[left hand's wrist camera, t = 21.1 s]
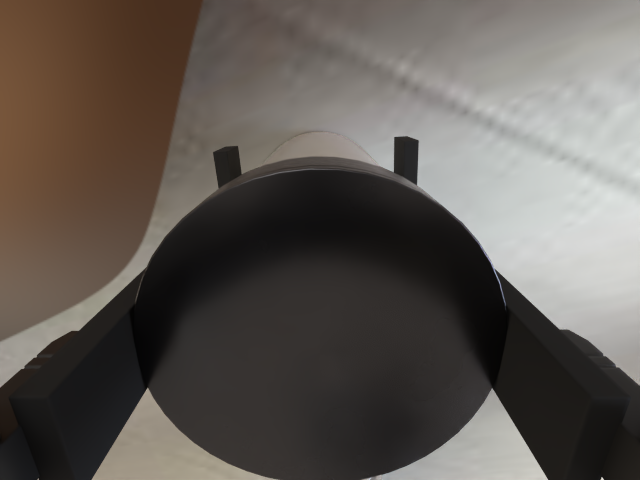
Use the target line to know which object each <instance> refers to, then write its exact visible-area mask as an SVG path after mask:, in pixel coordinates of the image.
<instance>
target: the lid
mask: <svg viewBox="0 0 640 480" xmlns="http://www.w3.org/2000/svg"><path fill="white" fill-rule="evenodd" d="M133 333H134V343H135V348H136V353H137V358H138V363H139V367H140V369H141V372H142V375H143V378H144V381H145V383H146V384H147V386H148V388H149V390H150V392H151V394H152V396H153V398H154V399H155V401H156V402H157V404H158V405H159V407H160V408H161V409H162V411H163V412H164V414H165V415H166V416H167V417H168V418H169V419H170V420H171V421H172V423H173V424H174V425H175V426H176V427H177V428H178V429H179V430H180V431H181V432H182V433H183V434H185V435H186V436H187V437H188V438H189V439H190V440H192V441H193V442H194V443H195V444H197V445H198V446H200V447H201V448H203V449H204V450H206V451H207V452H208V453H210V454H212V455H214V456H215V457H217V458H219V459H221V460H223V461H225V462H227V463H228V464H231V465H233V466H236V467H238V468H240V469H243V470H245V471H248V472H251V473H255V474H258V475H261V476H265V477H268V478H273V479H278V480H362V479H367V478H371V477H375V476H379V475H382V474H386V473H389V472H392V471H394V470H397V469H399V468H402V467H405V466H407V465H409V464H411V463H413V462H415V461H417V460H419V459H421V458H423V457H425V456H427V455H428V454H430V453H431V452H433V451H434V450H436V449H437V448H439V447H441V446H442V445H443V444H445V443H446V442H447V441H448V440H449V439H451V438H452V437H453V436H454V435H456V434H457V433H458V432H459V431H460V430H461V429H462V428H463V427H464V426H465V425H466V424H467V423H468V422H469V421H470V420H471V419H472V417H473V416H474V415H475V413H476V412H477V411H478V409H479V408H480V407H481V405H482V404H483V403H484V401H485V399H486V398H487V396H488V394H489V392H490V390H491V389H492V387H493V385H494V383H495V380H496V378H497V375H498V373H499V370H500V366H501V361H502V357H503V352H504V347H505V342H506V335H507V317H506V305H505V300H504V296H503V292H502V288H501V284H500V281H499V279H498V276H497V274H496V272H495V269H494V267H493V265H492V262H491V260H490V259H489V257H488V256H487V254H486V253H485V251H484V249H483V248H482V246H481V245H480V243H479V241H478V240H477V239H476V238H475V237H474V236H473V235H472V233H471V232H470V231H469V230H468V229H467V228H466V226H465V225H464V224H463V223H462V222H461V221H460V220H458V219H457V218H456V217H455V216H454V215H452V214H451V213H450V212H449V211H448V210H447V209H445V208H444V207H443V206H442V205H441V204H439V203H438V202H437V201H436V200H435V199H433V198H432V197H431V196H430V195H429V194H427V193H426V192H425V191H424V190H423V189H421V188H420V187H418V186H417V185H415V184H413V183H412V182H410V181H409V180H407V179H405V178H404V177H402V176H400V175H398V174H396V173H393V172H391V171H389V170H387V169H385V168H382V167H380V166H376V165H373V164H369V163H366V162H363V161H359V160H353V159H346V158H340V157H319V156H310V157H301V158H293V159H286V160H282V161H278V162H274V163H270V164H266V165H263V166H261V167H258V168H256V169H254V170H251V171H249V172H246V173H244V174H242V175H240V176H238V177H237V178H235V179H233V180H232V181H230V182H228V183H226V184H225V185H223V186H222V187H221V188H219V189H218V190H217V191H215V192H214V193H213V194H212V195H210V196H209V197H208V198H207V199H205V200H204V201H203V202H202V203H201V204H199V205H198V206H197V207H196V208H195V209H193V210H192V211H191V212H190V213H188V214H187V215H186V216H185V217H184V218H183V219H182V220H181V221H180V222H179V223H178V224H177V225H176V226H175V227H174V228H173V229H172V230H171V231H170V232H169V233H168V234H167V235H166V237H165V238H164V239H163V241H162V242H161V244H160V245H159V247H158V248H157V250H156V251H155V252H154V254H153V255H152V257H151V259H150V261H149V263H148V265H147V268H146V270H145V272H144V274H143V276H142V279H141V282H140V286H139V289H138V292H137V296H136V301H135V308H134V316H133Z"/></svg>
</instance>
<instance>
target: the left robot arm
mask: <svg viewBox="0 0 640 480" xmlns="http://www.w3.org/2000/svg"><path fill="white" fill-rule="evenodd" d="M146 268H147V267H146ZM146 268H145V269H144V270H143V271H142V272H141V273H140V274H139V275H138V276H137V277H136V278H135V279H134V280H133V281H132V282H130V283H129V284H128V285H127V286H126V287H125V288H124V289H123V290H122V291H121V292H120V293H119V294H118V295H117V296H116V297H114V298H113V299H112V300H111V301H110V302H109V303H108V304H107V305H106V306H105V307H104V308H103V309H102V310H101V311H100V312H98V313H97V314H96V315H95V316H94V317H93V318H92V319H91V320H90V321H89V322H88V323H87V324H86V325H85V326H84V327H83V328H81V329H80V330H79V331H71V332H69V333H67V334H65V335H64V336H62V337H60V338H58V339H56V340H55V341H53V342H51V343H50V344H49V345H48V346H47V347H46V348H45V349H43V350H42V351H41V352H40V353H39V354H38V355H37V358H33V359H32V360H31V361H30V362H29V363H28V364H27V365H25V368H24V369H21V370H20V371H19V372H18V373H16V374H15V375H14V376H13V377H12V378H11V379H10V380H9V381H7V382H6V383H5V384H4V385H3V386H2V387H1V388H0V480H37V479H38V478H39V480H92V478H93V476H94V475H95V473H96V471H97V470H98V468H99V466H100V465H101V463H102V461H103V460H104V458H105V457H106V455H107V453H108V452H109V450H110V448H111V447H112V445H113V443H114V442H115V440H116V438H117V437H118V435H119V434H120V432H121V430H122V429H123V427H124V425H125V424H126V422H127V420H128V419H129V417H130V415H131V414H132V412H133V411H134V409H135V407H136V406H137V404H138V402H139V401H140V399H141V397H142V396H143V394H144V392H145V391H146V389H147V388H148V386H147V384H146V383H145V381H144V378H143V375H142V372H141V369H140V367H139V363H138V358H137V353H136V348H135V343H134V333H133V316H134V308H135V301H136V296H137V292H138V289H139V286H140V282H141V279H142V276H143V274H144V272H145V270H146ZM495 272H496V274H497V276H498V279H499V281H500V284H501V288H502V292H503V296H504V300H505V305H506V317H507V335H506V342H505V347H504V352H503V357H502V361H501V366H500V370H499V373H498V375H497V378H496V380H495V383H494V385H493V387H492V388H493V390H494V391H495V393H496V395H497V396H498V398H499V399H500V401H501V403H502V404H503V406H504V408H505V409H506V411H507V413H508V414H509V416H510V418H511V419H512V421H513V422H514V424H515V426H516V427H517V429H518V431H519V432H520V434H521V436H522V437H523V439H524V441H525V442H526V444H527V445H528V447H529V449H530V450H531V452H532V454H533V455H534V457H535V459H536V460H537V462H538V464H539V465H540V467H541V468H542V470H543V472H544V473H545V475H546V477H547V478H548V480H601V477H603V479H604V480H640V386H639V385H638V384H637V383H636V382H635V381H633V380H632V379H631V378H630V377H629V376H628V375H627V374H625V373H624V372H623V371H622V370H621V369H620V368H616V366H615V364H614V363H613V362H612V361H611V360H610V359H608V358H607V357H606V356H603V353H602V352H600V351H599V350H598V349H597V348H596V347H595V346H594V345H592V344H591V343H590V342H589V341H588V340H586V339H584V338H582V337H581V336H579V335H577V334H575V333H573V332H572V331H570V330H559V329H558V328H557V327H556V326H555V325H554V324H553V323H552V322H551V321H550V320H549V319H548V318H547V317H546V316H544V315H543V314H542V313H541V312H540V311H539V310H538V309H537V308H536V307H535V306H534V305H533V304H532V303H531V302H530V301H528V300H527V299H526V298H525V297H524V296H523V295H522V294H521V293H520V292H519V291H518V290H517V289H516V288H515V287H514V286H513V285H511V284H510V283H509V282H508V281H507V280H506V279H505V278H504V277H503V276H502V275H501V274H500V273H499V272H498V271H497V270H495Z"/></svg>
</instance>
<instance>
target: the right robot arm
mask: <svg viewBox="0 0 640 480" xmlns="http://www.w3.org/2000/svg"><path fill="white" fill-rule="evenodd" d="M418 143H419V140H416V139H413V138H410V137H407V136H405V137H394V173H396V174H398V175H400V176H402V177H404V178H405V179H407V180H409V181H410V182H412V183H413V184H415V185H417V169H418ZM213 154H214V161H215V167H216V174H217V180H218V187H219V188H221V187H222V186H223V185H225V184H226V183H228V182H230V181H232V180H233V179H235V178H237V177H238V176H240V175H242V174H241V166H240V158H239V151H238V146H230V147H224V148H222V149H219V150H217V151H215V152H213ZM362 480H382V475H379V476H375V477H371V478H367V479H362Z"/></svg>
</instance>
